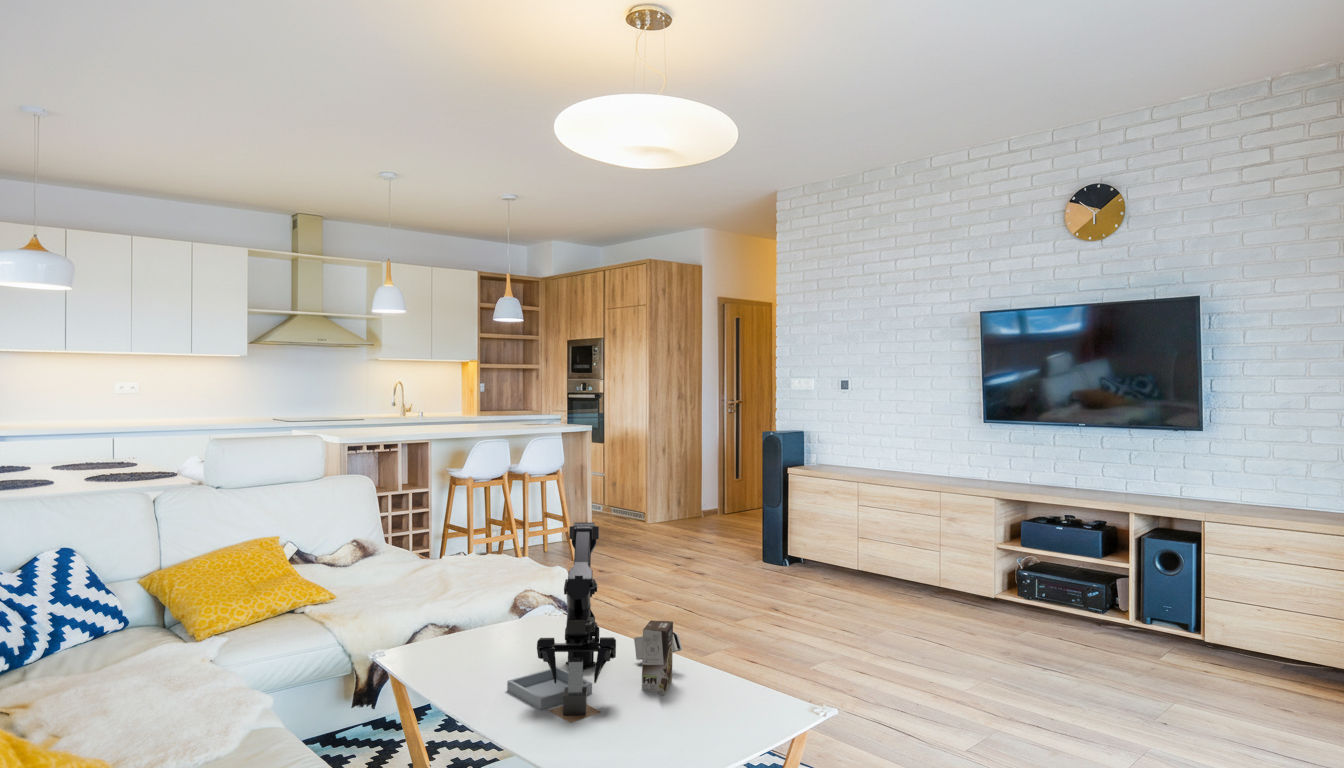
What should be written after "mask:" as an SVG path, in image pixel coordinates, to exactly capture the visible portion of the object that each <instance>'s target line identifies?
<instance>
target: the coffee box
mask: <svg viewBox="0 0 1344 768" xmlns="http://www.w3.org/2000/svg"><path fill="white" fill-rule="evenodd" d="M642 632H643V633H642V636H643V656H642V657H643V658H642V663H641V669H642V671H641V690H642V691H643V690H644V691H653V692H657V694H658V695H659V696H666V694H667V692H668V690H669V689H670V687H671V685H672V684H673V653H674V652H673V632H674V621H669V620H649V622H648V623H647V624H646V625H645V627H644V628H643V629H642Z"/></svg>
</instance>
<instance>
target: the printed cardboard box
mask: <svg viewBox="0 0 1344 768" xmlns="http://www.w3.org/2000/svg"><path fill="white" fill-rule="evenodd" d="M633 643H634V647H635V649H634V650H635V659H636V660H637V661H639V660H642V658H643V657H642V656H643V635H640V636H635V637H633ZM683 650H684V649H683V646H682V643H681V638H680V636H679V634H678V632H675V631H673V653H677V652H680V651H683Z"/></svg>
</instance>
